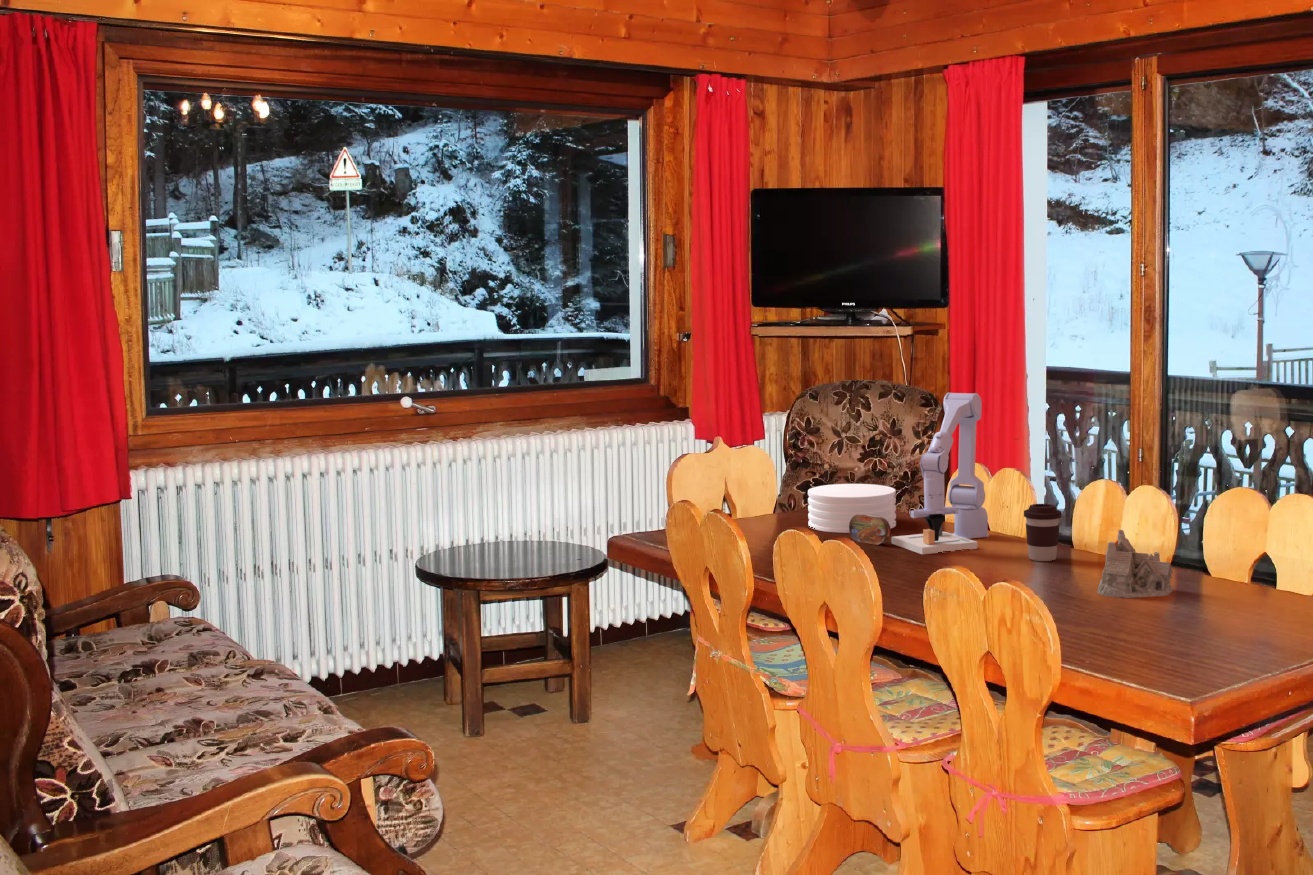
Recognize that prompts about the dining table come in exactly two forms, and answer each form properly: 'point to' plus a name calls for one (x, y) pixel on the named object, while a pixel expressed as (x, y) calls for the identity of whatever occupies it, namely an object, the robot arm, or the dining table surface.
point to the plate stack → (849, 505)
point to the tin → (869, 529)
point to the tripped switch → (928, 536)
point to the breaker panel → (943, 544)
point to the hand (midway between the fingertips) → (934, 540)
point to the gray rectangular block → (940, 531)
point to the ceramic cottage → (1133, 572)
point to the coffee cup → (1042, 531)
